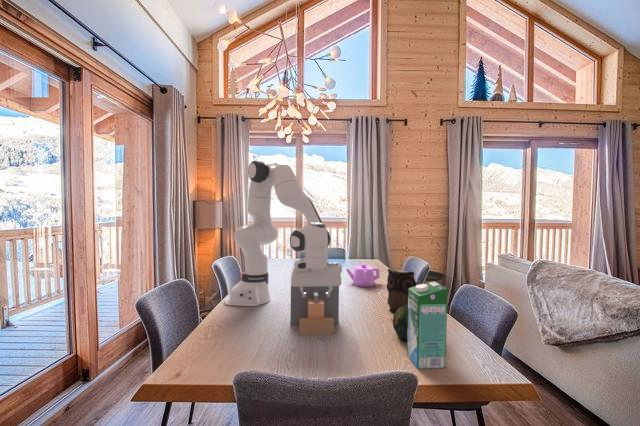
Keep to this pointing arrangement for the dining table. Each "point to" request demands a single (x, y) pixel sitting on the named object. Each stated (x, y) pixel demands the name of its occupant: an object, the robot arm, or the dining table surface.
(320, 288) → the board
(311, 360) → the dining table surface
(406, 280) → the owl
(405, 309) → the squash
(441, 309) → the milk carton
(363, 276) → the teakettle
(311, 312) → the tall peach box
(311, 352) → the dining table surface
